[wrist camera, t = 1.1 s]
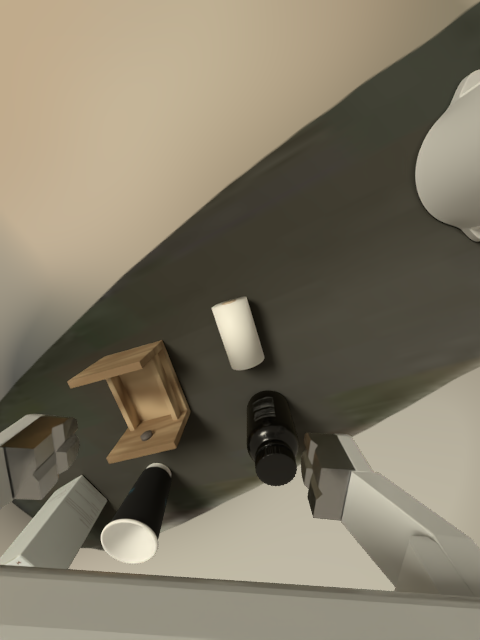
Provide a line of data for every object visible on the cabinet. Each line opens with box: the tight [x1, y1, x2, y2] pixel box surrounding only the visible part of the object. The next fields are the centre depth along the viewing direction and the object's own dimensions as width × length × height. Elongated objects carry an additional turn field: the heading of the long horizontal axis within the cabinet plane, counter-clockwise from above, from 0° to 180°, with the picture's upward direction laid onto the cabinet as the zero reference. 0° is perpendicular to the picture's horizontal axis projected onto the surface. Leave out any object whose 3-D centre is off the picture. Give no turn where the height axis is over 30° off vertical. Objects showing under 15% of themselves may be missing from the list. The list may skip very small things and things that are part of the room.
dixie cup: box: [101, 463, 171, 564], centre depth 38 cm, size 8×8×11 cm
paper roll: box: [212, 297, 264, 370], centre depth 34 cm, size 9×5×5 cm, turn 17°
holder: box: [67, 340, 191, 464], centre depth 35 cm, size 13×10×8 cm
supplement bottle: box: [247, 391, 299, 486], centre depth 34 cm, size 7×7×12 cm
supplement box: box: [0, 475, 107, 569], centre depth 39 cm, size 7×7×13 cm
